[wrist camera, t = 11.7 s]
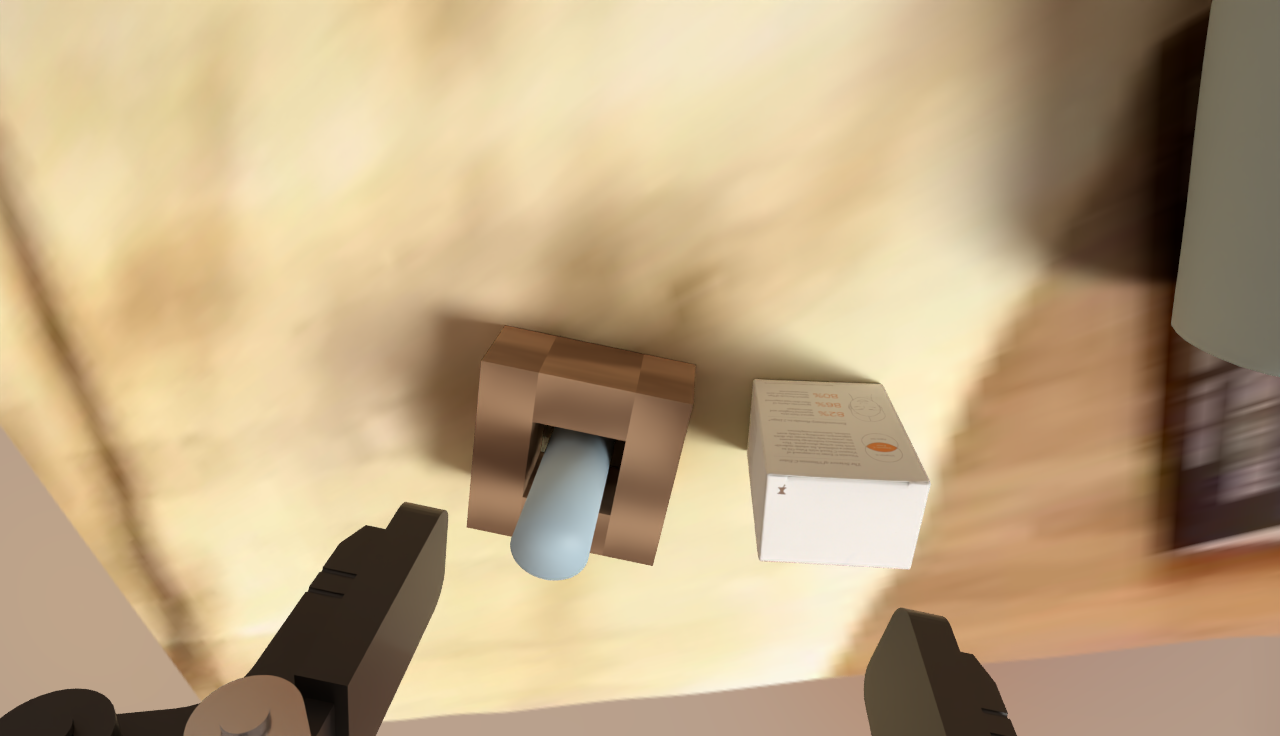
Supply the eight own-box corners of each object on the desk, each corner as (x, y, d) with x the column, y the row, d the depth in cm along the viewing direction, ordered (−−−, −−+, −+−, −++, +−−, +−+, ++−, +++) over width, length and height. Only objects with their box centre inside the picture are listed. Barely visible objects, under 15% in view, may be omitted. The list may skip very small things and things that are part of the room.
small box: (745, 451, 46) (754, 563, 36) (752, 375, 43) (763, 474, 34) (871, 458, 45) (912, 574, 36) (885, 381, 43) (933, 484, 33)
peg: (561, 394, 45) (514, 511, 34) (622, 406, 45) (594, 527, 34) (553, 445, 47) (506, 571, 36) (612, 457, 47) (582, 587, 36)
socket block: (505, 325, 43) (481, 360, 39) (695, 364, 43) (693, 404, 39) (489, 480, 49) (466, 527, 44) (658, 515, 49) (652, 565, 44)
